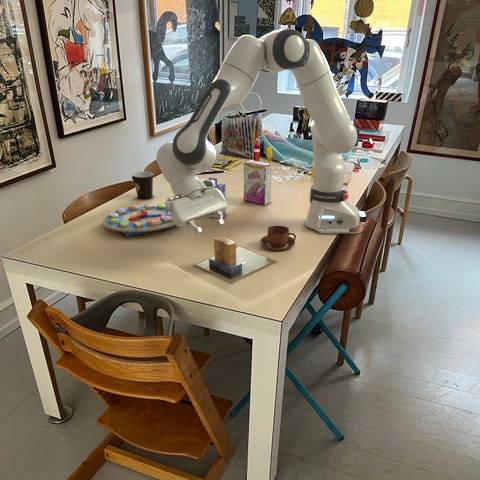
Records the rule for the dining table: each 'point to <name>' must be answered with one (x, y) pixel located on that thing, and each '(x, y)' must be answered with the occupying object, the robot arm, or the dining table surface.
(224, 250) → the eraser
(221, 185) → the ink cartridge box
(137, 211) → the shape sorting clock
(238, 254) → the slate board
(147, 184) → the coffee mug
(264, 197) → the candy bar box
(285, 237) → the cup and saucer
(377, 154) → the dining table surface
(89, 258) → the dining table surface
